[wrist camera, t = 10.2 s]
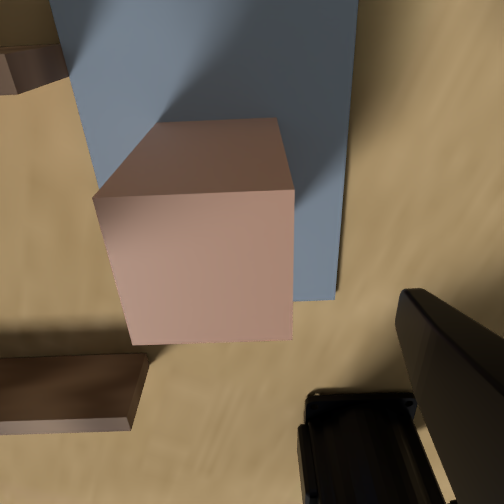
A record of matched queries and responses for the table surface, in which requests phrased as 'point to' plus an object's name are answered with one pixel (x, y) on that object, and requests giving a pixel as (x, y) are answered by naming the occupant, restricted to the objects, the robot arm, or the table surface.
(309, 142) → the slate mat
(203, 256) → the terracotta block
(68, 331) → the table surface
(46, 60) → the brown open boxy piece
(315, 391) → the table surface
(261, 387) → the table surface
